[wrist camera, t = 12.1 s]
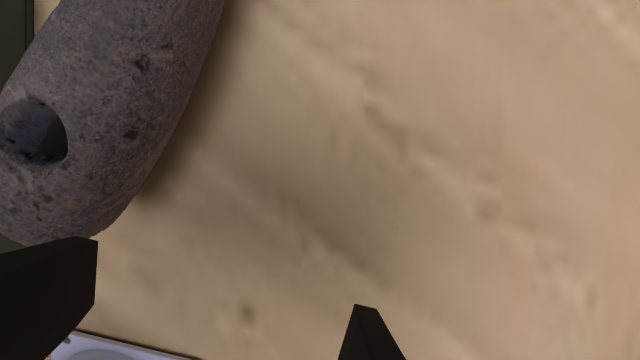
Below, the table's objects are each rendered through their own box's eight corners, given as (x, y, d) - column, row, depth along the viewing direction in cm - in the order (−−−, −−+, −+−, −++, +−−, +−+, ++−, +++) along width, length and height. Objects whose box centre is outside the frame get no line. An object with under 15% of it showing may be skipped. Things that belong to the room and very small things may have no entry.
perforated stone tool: (195, -106, 16) (88, -237, 9) (293, -28, 16) (258, -99, 10) (57, 161, 20) (-89, 204, 13) (140, 216, 20) (41, 284, 14)
